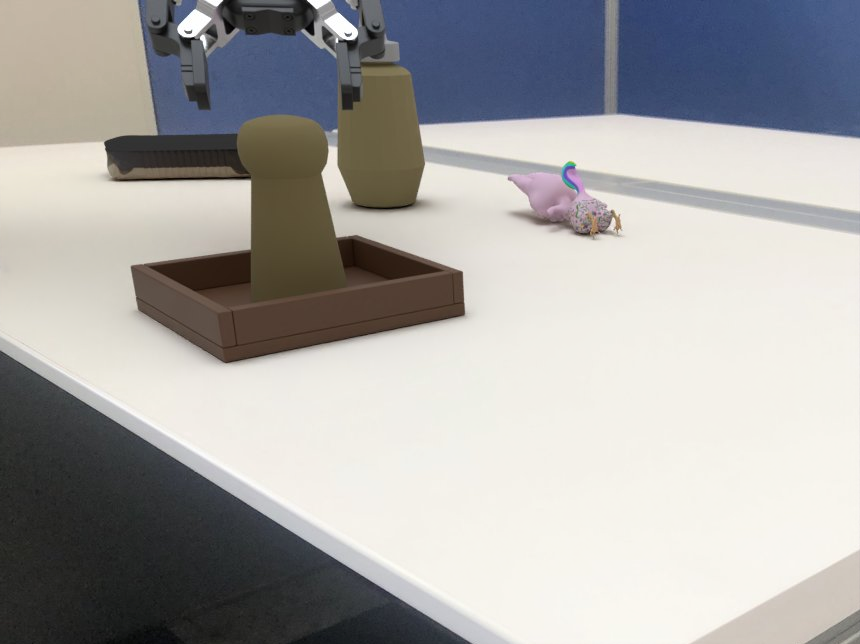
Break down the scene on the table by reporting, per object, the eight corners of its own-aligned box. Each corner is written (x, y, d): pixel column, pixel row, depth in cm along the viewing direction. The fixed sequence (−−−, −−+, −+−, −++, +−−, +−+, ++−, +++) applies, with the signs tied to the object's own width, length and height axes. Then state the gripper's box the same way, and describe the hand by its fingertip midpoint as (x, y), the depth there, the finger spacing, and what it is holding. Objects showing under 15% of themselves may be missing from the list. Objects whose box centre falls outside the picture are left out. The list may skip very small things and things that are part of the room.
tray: (225, 362, 58) (217, 313, 57) (137, 309, 67) (129, 265, 66) (465, 314, 68) (463, 271, 66) (360, 273, 77) (357, 234, 75)
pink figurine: (634, 247, 92) (543, 193, 102) (642, 180, 89) (547, 130, 99) (574, 256, 89) (486, 199, 98) (581, 186, 86) (488, 134, 95)
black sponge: (272, 167, 120) (268, 133, 119) (267, 178, 113) (263, 143, 111) (117, 169, 116) (110, 134, 115) (101, 182, 109) (94, 144, 108)
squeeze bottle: (445, 202, 103) (434, -2, 95) (387, 215, 96) (370, -2, 89) (382, 193, 106) (367, -4, 99) (322, 205, 100) (301, -5, 93)
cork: (230, 307, 65) (203, 118, 60) (283, 283, 70) (262, 109, 66) (320, 315, 64) (299, 123, 59) (367, 291, 69) (351, 113, 65)
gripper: (130, -154, 65) (139, 57, 60) (366, -140, 69) (394, 60, 64) (153, -55, 72) (163, 142, 67) (368, -47, 76) (393, 140, 71)
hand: (276, 101), depth 66 cm, fingers open, 8 cm apart
